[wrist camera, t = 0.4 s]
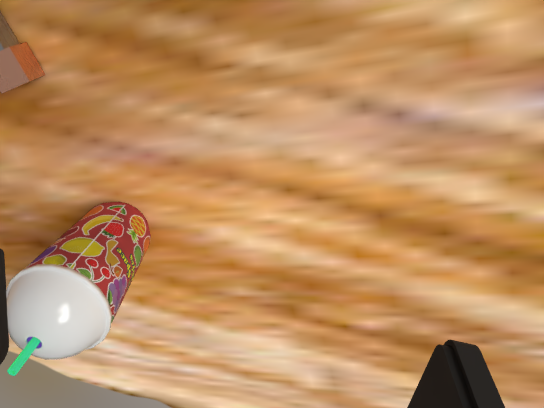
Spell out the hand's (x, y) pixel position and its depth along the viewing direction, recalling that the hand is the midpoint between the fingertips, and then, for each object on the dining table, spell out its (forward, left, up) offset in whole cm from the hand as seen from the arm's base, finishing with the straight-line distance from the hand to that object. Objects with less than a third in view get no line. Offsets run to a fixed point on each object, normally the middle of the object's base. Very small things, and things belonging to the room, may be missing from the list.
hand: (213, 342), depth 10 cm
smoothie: (+21, -13, -34) cm, 42 cm away
